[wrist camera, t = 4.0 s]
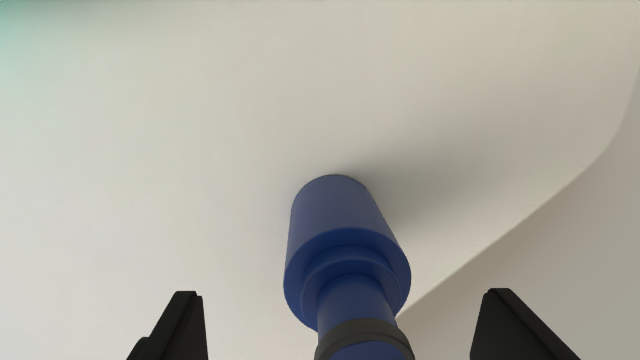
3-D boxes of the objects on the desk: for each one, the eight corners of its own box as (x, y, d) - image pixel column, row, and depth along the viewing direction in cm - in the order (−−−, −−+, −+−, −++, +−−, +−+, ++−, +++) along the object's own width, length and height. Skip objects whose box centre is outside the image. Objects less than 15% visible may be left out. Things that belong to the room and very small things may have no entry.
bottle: (378, 175, 19) (472, 296, 8) (371, 252, 20) (442, 436, 10) (291, 173, 18) (272, 296, 8) (290, 251, 20) (274, 441, 9)
